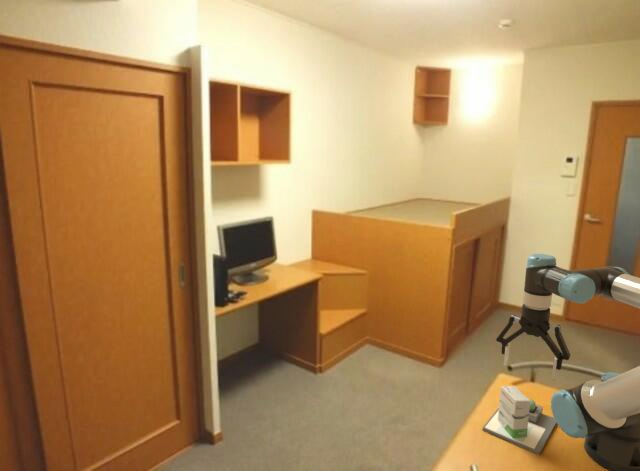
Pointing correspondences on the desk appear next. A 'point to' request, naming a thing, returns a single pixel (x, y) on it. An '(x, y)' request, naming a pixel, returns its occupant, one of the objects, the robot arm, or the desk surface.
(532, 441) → the colouring board
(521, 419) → the ink box
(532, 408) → the button
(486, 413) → the desk surface
